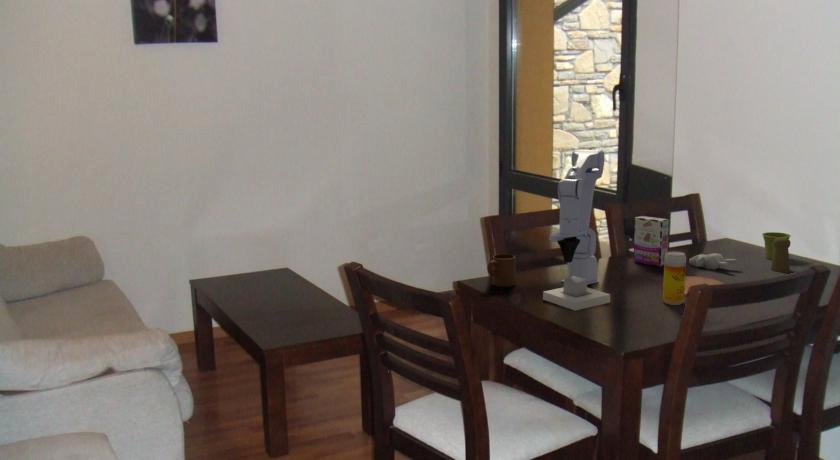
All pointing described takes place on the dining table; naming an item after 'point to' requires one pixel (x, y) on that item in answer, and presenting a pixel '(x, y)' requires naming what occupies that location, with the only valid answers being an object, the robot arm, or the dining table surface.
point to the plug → (575, 286)
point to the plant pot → (772, 242)
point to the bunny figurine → (710, 261)
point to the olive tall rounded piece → (781, 255)
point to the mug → (503, 270)
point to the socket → (576, 298)
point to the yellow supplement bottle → (674, 278)
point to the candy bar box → (650, 240)
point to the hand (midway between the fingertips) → (568, 261)
